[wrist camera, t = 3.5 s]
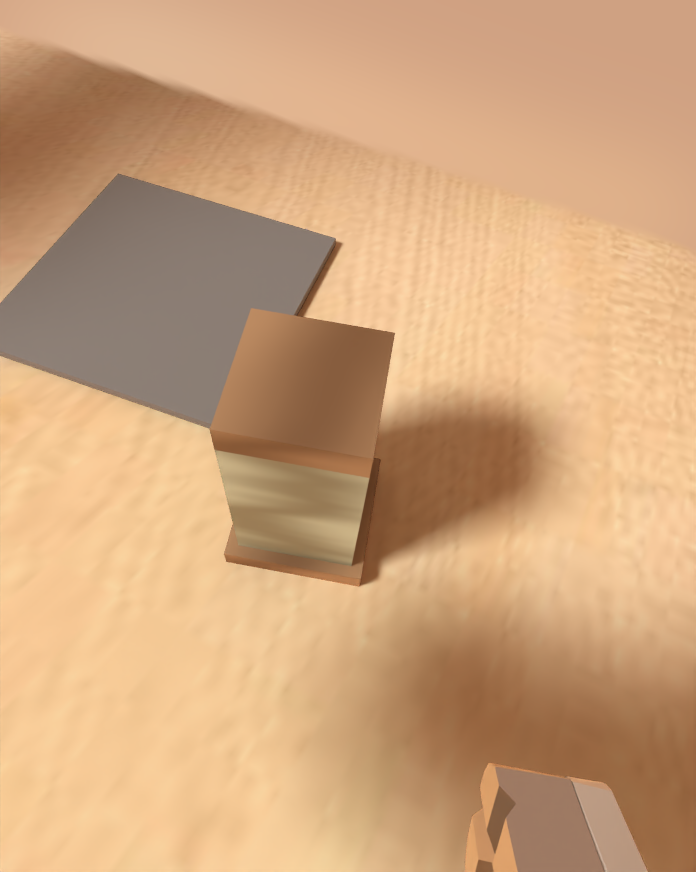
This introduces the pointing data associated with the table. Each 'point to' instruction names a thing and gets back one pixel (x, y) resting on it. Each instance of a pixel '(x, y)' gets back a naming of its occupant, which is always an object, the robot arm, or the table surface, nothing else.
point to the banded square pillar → (301, 444)
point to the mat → (156, 295)
